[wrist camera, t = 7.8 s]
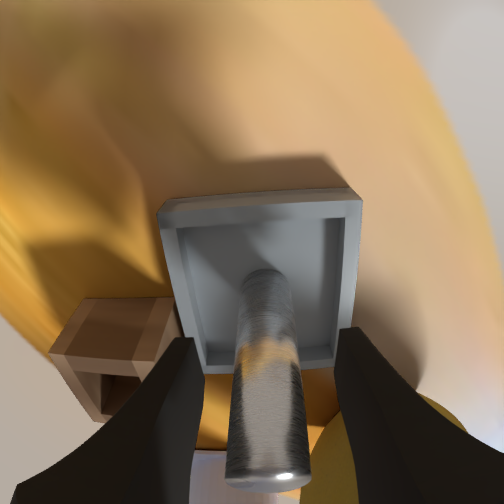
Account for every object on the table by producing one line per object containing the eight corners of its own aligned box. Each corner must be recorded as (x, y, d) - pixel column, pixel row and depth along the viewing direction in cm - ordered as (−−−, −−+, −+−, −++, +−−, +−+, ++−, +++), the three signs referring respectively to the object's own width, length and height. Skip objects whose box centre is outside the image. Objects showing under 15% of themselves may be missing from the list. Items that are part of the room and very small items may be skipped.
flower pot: (285, 437, 20) (291, 551, 12) (346, 359, 16) (382, 516, 8) (383, 441, 21) (405, 534, 13) (452, 373, 17) (500, 481, 9)
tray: (338, 344, 15) (344, 365, 14) (200, 352, 16) (196, 373, 14) (350, 187, 12) (362, 199, 10) (167, 199, 12) (156, 213, 10)
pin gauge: (290, 308, 13) (307, 491, 6) (242, 310, 13) (229, 492, 6) (290, 267, 12) (315, 463, 5) (238, 269, 13) (218, 465, 5)
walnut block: (196, 371, 16) (185, 432, 13) (114, 367, 16) (93, 421, 13) (175, 297, 14) (154, 361, 10) (83, 298, 14) (47, 352, 11)
